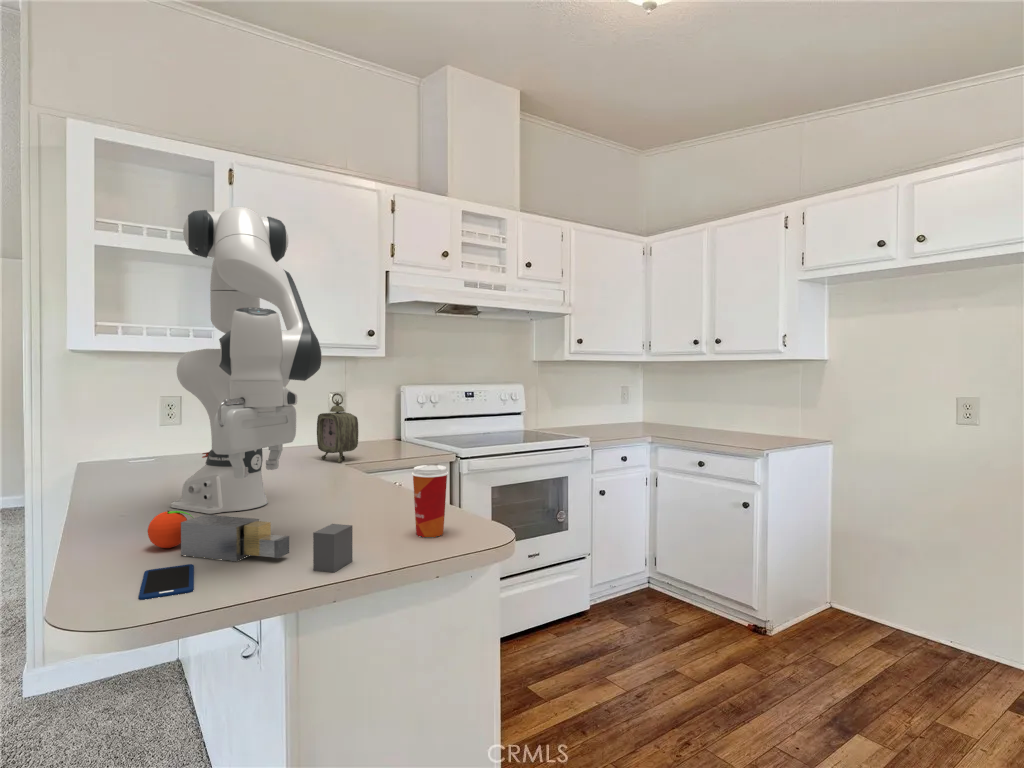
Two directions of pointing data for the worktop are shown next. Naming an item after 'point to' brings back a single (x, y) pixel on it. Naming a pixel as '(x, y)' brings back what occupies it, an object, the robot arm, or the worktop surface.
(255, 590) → the worktop surface
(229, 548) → the sleeve
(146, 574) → the cell phone
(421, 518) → the paper cup
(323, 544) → the socket
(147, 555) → the worktop surface
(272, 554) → the gold-banded square post
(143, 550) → the worktop surface
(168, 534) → the clementine
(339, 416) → the tabletop clock
